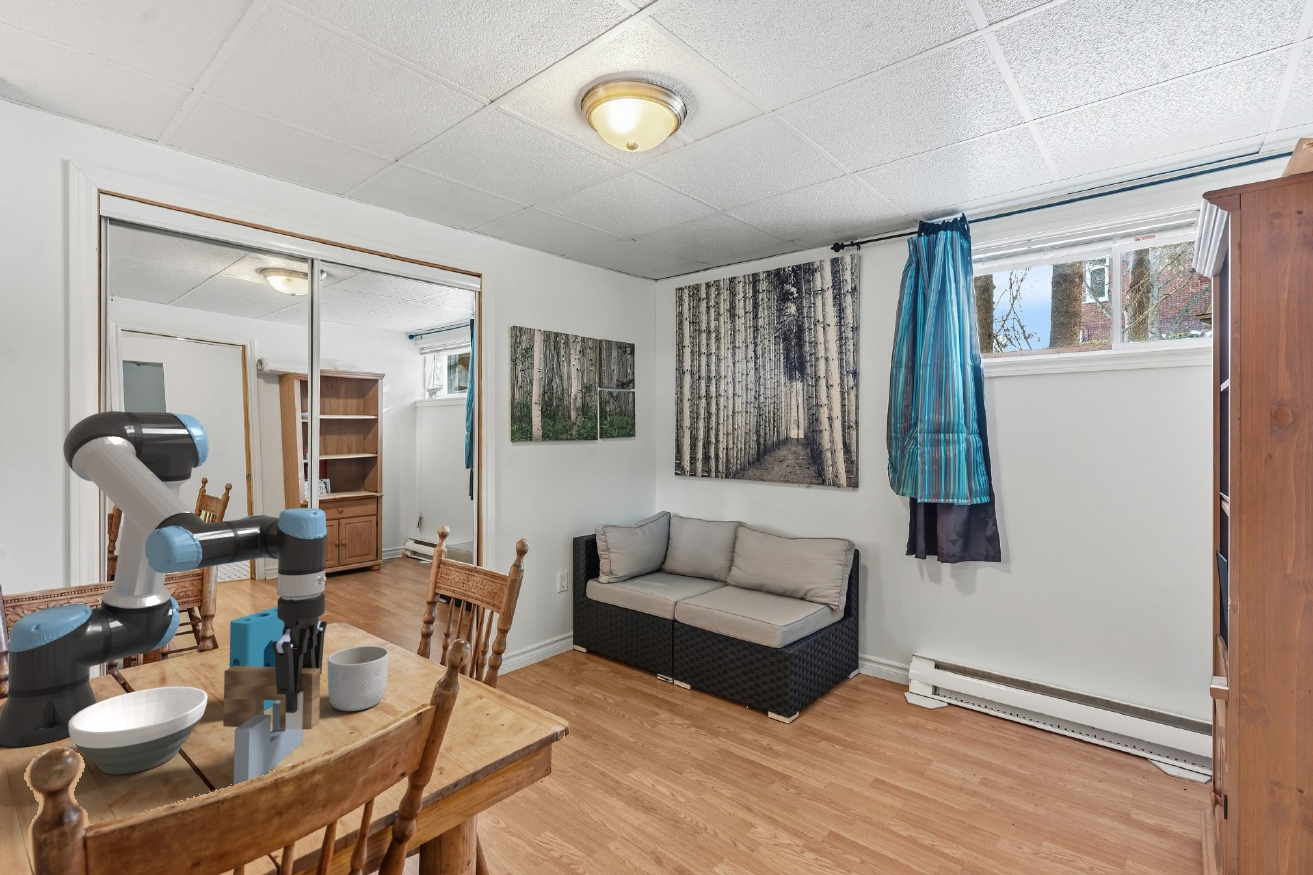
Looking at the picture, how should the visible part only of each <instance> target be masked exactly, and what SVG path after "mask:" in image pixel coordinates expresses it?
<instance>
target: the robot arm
mask: <svg viewBox="0 0 1313 875" xmlns="http://www.w3.org/2000/svg"><path fill="white" fill-rule="evenodd" d="M63 442H64V443H63V457H64V460H65V462H66V464H67V465H68V467H69V468H70V470H72V471H73V472H74V474H76V475H77V476H78V477H79V478H81V479H82V480H85V481H87V482H92V483H93V484H95V485H96V487H97V488H99V490H101V492H102V493H103V494H105V496H107V498H108V499H109V500H110V501H111V502H112V503H113V504H114V505H115V506H116V507H117V508H118V509H119V510H120V511H121V512H122V513H123V514H124V517H123V524H122V529H121V535H120V543H119V546H118V547H119V550H118V554H117V560H116V567H115V573H114V580H113V586H112V588H109V589H108V590H107V591H105V592H104V593H103V594H102V597H101V604H100V606H99V607H96V608H91V606H90V605H89V604H86V603H71V604H67V605H58V606H53V607H49V608H45V609H42V610H38V611H35V612H32V613H30V614H28V615H25V616H23V617H21V618H20V619H19V620H18V619H17V621H16V622H15V623H13V625H12V626H11V628H10V630H9V641H8V644H7V650H8V684H7V685H8V687H7V689H8V690H7V691H8V693H7V694H8V695H7V700H6V703H5V705H4V708H3V710H2V712H1V715H0V746H1V747H6V748H17V747H18V748H19V747H21V748H22V747H28V746H29V747H30V746H31V747H32V746H36V745H41V744H46V743H51V742H55V741H59V740H61V739H65V738H69V737H70V734H69V726H68V725H69V721H70V720H71V718H72V717H73V716H74V715H76V714H77V713H78V712H80V711H81V710H83V709H85V708H87V707H89V706H91V705H93V704H96V703H98V702H97V701H96V697H95V694H94V691H93V689H92V686H91V684H90V670H91V669H90V668H92V667H94V666H98V665H102V664H106V663H110V662H114V661H118V660H122V659H125V658H128V657H129V658H130V657H132V656H137V655H144V654H147V653H149V652H152V651H154V650H158V649H161V648H163V647H165V646H166V645H168V644H169V643H170V642H171V641H172V640H173V639H174V637H175V635H176V633H177V632H178V629H179V626H180V623H181V622H180V620H181V613H180V612H179V610H180V606H179V604H178V601H177V599H175V597H173V596H172V594H171V591H170V590H168V589H167V587H165V581H166V576H167V574H168V573H169V574H171V573H185V572H190V571H194V570H199V569H204V568H210V567H211V568H212V567H216V566H222V565H226V564H234V563H240V562H245V561H251V560H256V559H273V560H274V559H275V560H277V562H278V563H277V565H278V566H277V592H276V593H277V595H278V596H279V598H278V599H277V606H276V607H277V617H278V618H279V619H280V620H282V621H283V622H284V628H283V632H282V635H283V637H282V638H281V639H280V641H274V642H273V644H272V648H273V651H274V654H275V668H276V686H277V694H285V695H286V725H285V729H298V730H300V729H302V728H303V691H300V689H301V677H302V668H320V676H321V674H322V669H323V658H324V657H323V656H324V645H325V642H324V641H325V634H326V629H327V625H328V622H327V621H324V620H323V621H321V620H319V617H321V616H323V614H324V613H325V611H326V594H324V593H323V592H324V591H326V590H325V589H326V581H327V577H326V561H327V560H326V556H327V534H328V529H327V523H326V522H327V520H326V518H327V517H326V513H325V511H324V510H323V509H320V508H314V507H313V508H308V507H306V508H305V507H300V508H298V507H297V508H289V509H284V510H282V511H280V513H279V514H278V515H279V517H274V516H269V515H266V514H259V515H247V516H244V517H242V518H241V519H234V520H222V521H215V522H205V521H204V520H203V519H202V518H201V516H199V515H197V514H196V512H194V511H193V510H192V509H191V508H190V507H189V506H188V505H187V504H186V503H185V502H184V501H183V500H182V499H181V498H180V491H181V486H182V485H183V484H185V483H186V482H188V481H189V480H191V477H192V473H193V472H192V470H193V469H195V468H196V469H197V468H199V467H201V466H203V465H204V463H205V462H206V461H207V459H208V456H209V452H210V451H209V450H210V448H209V439H208V435H207V432H206V431H205V429H204V426H203V425H202V423H201V422H200V421H199V420H198V419H197V418H196V417H194V416H192V415H189V414H184V413H183V414H182V413H174V412H152V411H151V412H150V411H149V412H148V411H145V412H144V411H141V412H140V411H119V410H118V411H117V410H116V411H114V410H109V411H103V412H97V413H94V414H92V415H91V414H90V415H89V416H86V417H85V418H83V419H81V420H80V421H79V422H78V423H76V424H75V425H74V426H72V428H71V429H70V430H69V431H68V433H67V435H66V437H65V439H64V441H63Z"/></svg>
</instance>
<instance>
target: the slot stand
mask: <svg viewBox="0 0 1313 875" xmlns="http://www.w3.org/2000/svg"><path fill="white" fill-rule="evenodd" d="M271 722H272V723H271ZM271 725H272V727H271ZM303 744H304V729H300V730H298V729H284V728H280V701H279V700H277V701H276V702H274V703H273V707H272V715H271V714H264V715H262V714H257V715H255V716H254V717H252V718H251V719H249V720H248V721H246V722H245V723H244V724H242V725H241V726H239V727H235V729H234V745H233V746H234V747H233V748H234V749H233V755H234V756H233V785H234V784H238V783H241V782H243V781H247V780H249V779H253V778H255V777H259V776H262V775H264V776H266V775H267V774H268V773H269V772H270V771H271V770H273V769H274V768H275V767H276V766H277V765H279V764H280V763H281V762H282V761H283V760H284V759H285V758H287V757H288V756H289V755H290V754H292V752H294V751H295V750H296V749H297V748H298V747H300V746H301V745H303Z"/></svg>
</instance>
